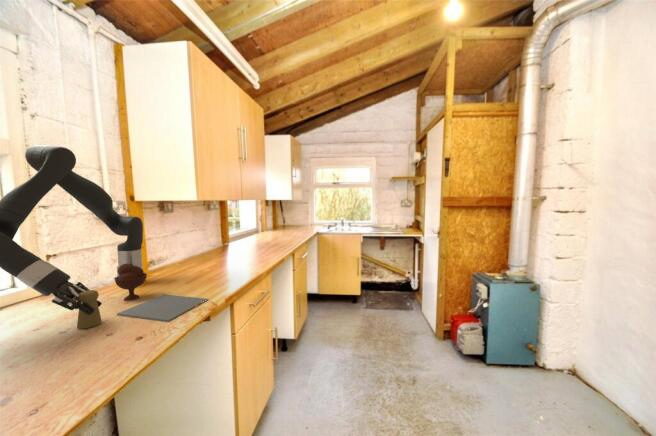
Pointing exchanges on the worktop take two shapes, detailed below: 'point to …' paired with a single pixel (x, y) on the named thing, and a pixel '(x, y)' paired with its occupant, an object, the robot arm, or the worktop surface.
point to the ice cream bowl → (130, 279)
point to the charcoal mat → (162, 307)
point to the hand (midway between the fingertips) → (95, 309)
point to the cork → (94, 318)
